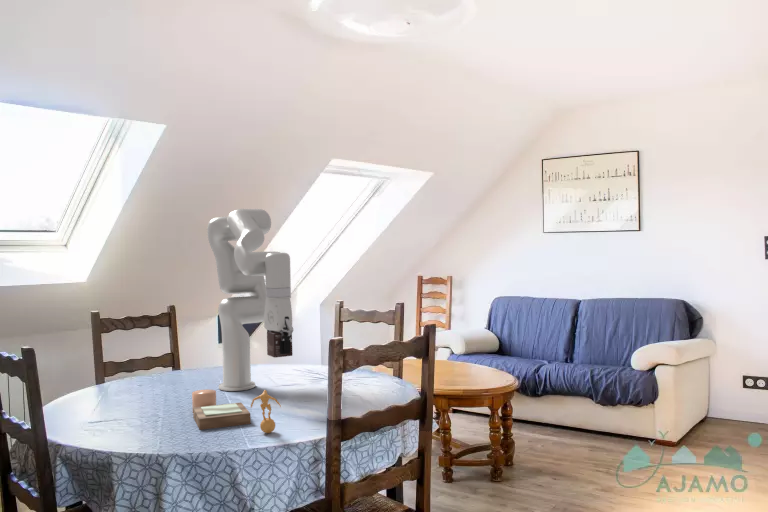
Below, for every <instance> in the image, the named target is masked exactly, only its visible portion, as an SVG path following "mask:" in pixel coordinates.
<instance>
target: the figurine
mask: <svg viewBox="0 0 768 512" xmlns="http://www.w3.org/2000/svg"><path fill="white" fill-rule="evenodd" d="M256 400H260V401H261V403H260V408H261V411H262V412H261V413H262V418H263V420H261V422H260V426H259V427H260V430H261V432H262V433H264V434H270V433H273V432H274V431H275V428H276V422H275V420H274V419H273V418H271V413H272V412H271V411H272V407H271V406H272V405H271V403H269V400H272V401H274V402H276V404H277V405H279V408H282V405H281V403H280V402H279V401H278V400H277V398H275V397H273V396H271V395H269V394H268V391H267V390H266V389H264V390H263V392H262V393H261V394H260V395H258V396H256V397H254V398H253V399H252V400H251V404H250V409H252V408H253V406H254V402H255V401H256ZM266 409H267V410H269V411H268V413H267V415H268V416H267V417H266V416H265V415H266V412H265V411H266Z"/></svg>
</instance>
